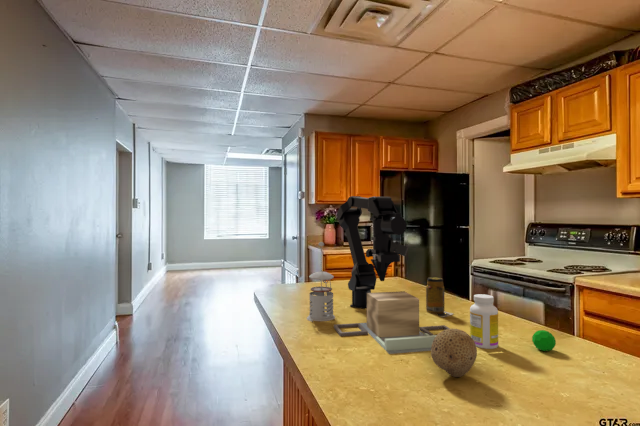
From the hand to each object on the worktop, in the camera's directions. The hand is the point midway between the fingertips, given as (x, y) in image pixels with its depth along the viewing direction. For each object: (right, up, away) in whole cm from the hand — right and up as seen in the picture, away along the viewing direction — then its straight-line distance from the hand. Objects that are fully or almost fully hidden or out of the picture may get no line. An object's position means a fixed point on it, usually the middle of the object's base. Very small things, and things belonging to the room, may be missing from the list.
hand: (382, 281), depth 121 cm
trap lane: (+1, -12, -20) cm, 23 cm away
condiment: (+19, -12, +4) cm, 23 cm away
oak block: (0, -11, -16) cm, 19 cm away
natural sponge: (+7, -12, -45) cm, 47 cm away
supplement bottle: (+22, -12, -27) cm, 37 cm away
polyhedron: (+35, -12, -30) cm, 48 cm away
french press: (-20, -12, -1) cm, 23 cm away
